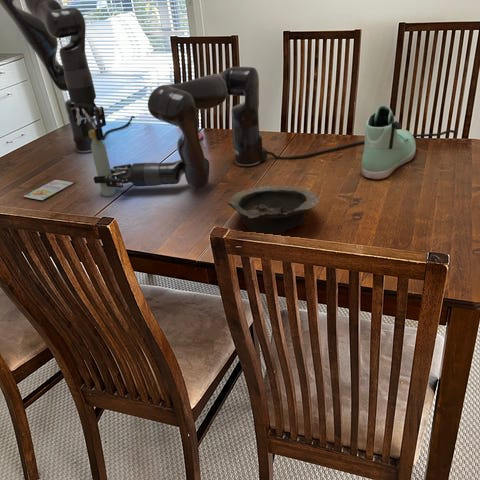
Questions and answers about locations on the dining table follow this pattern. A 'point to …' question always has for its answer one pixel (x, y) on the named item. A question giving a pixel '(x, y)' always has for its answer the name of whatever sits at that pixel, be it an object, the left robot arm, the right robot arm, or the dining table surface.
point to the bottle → (102, 165)
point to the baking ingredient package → (48, 189)
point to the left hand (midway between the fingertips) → (92, 137)
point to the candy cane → (200, 136)
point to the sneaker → (385, 145)
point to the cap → (92, 134)
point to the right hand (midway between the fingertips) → (97, 176)
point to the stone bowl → (273, 207)
